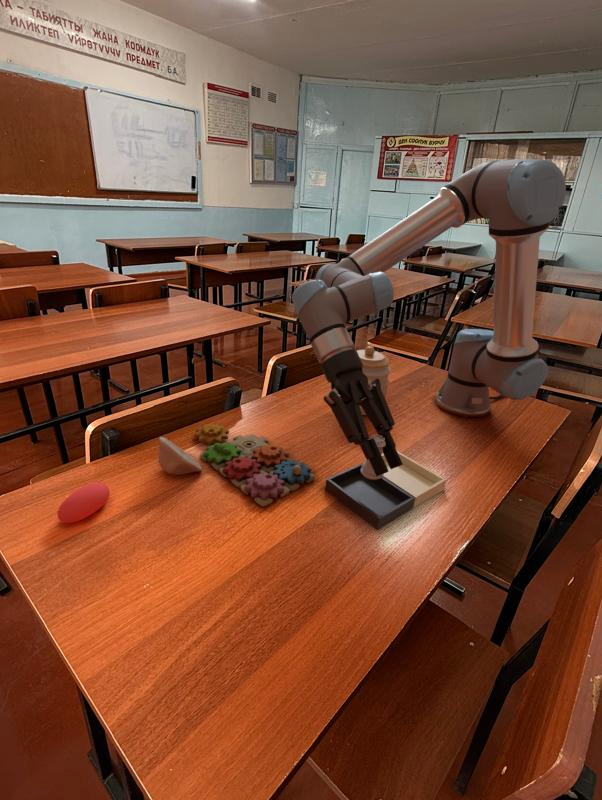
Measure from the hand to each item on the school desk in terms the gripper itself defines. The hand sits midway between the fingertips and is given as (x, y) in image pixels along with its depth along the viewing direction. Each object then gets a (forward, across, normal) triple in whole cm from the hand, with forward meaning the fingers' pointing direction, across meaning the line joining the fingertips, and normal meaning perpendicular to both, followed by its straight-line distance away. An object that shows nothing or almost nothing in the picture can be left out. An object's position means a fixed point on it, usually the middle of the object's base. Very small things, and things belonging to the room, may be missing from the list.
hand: (389, 470), depth 80 cm
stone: (-17, +25, -30) cm, 43 cm away
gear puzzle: (-14, +12, -27) cm, 33 cm away
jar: (-17, -30, -30) cm, 46 cm away
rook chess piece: (0, 0, -5) cm, 5 cm away
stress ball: (-14, +44, -28) cm, 54 cm away
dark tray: (+4, 0, -9) cm, 10 cm away
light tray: (+4, -10, -9) cm, 14 cm away
